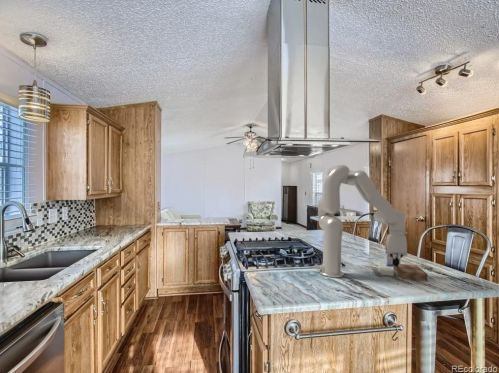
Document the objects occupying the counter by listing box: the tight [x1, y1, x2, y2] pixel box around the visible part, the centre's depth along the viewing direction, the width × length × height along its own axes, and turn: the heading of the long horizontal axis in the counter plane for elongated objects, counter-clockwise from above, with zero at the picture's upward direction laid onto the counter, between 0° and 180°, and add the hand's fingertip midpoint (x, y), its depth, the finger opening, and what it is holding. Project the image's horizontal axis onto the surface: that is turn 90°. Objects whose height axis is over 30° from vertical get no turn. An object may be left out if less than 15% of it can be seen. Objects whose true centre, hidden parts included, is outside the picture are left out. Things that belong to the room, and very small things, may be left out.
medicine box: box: [384, 250, 402, 268], centre depth 170 cm, size 8×4×9 cm, turn 76°
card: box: [377, 265, 395, 276], centre depth 154 cm, size 6×9×2 cm, turn 166°
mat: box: [371, 267, 400, 279], centre depth 154 cm, size 11×14×1 cm
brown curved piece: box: [392, 263, 429, 282], centre depth 151 cm, size 12×16×4 cm
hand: (395, 265), depth 153 cm, fingers closed
